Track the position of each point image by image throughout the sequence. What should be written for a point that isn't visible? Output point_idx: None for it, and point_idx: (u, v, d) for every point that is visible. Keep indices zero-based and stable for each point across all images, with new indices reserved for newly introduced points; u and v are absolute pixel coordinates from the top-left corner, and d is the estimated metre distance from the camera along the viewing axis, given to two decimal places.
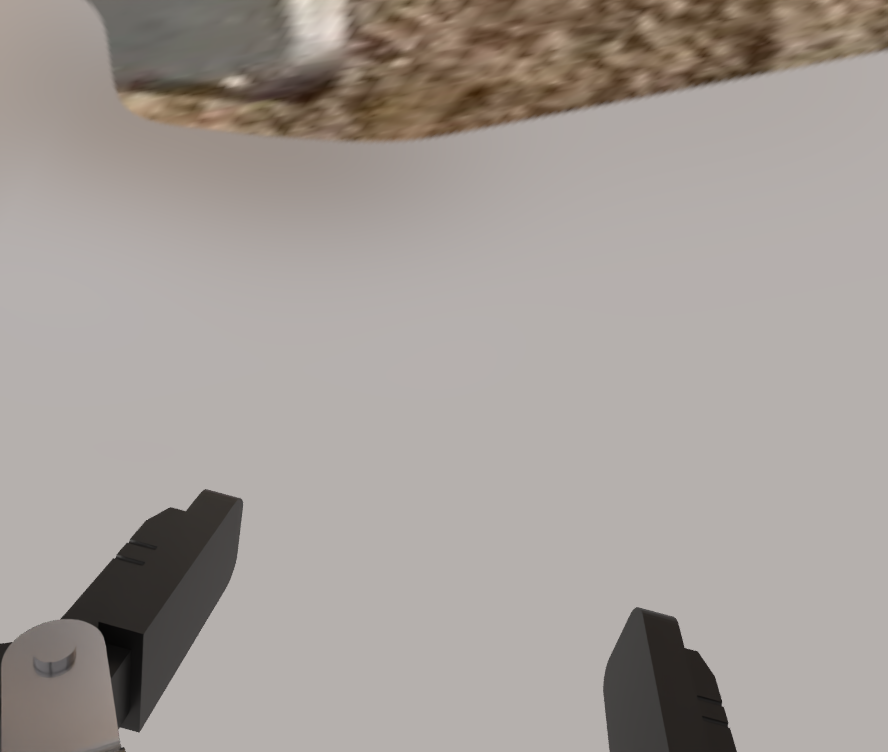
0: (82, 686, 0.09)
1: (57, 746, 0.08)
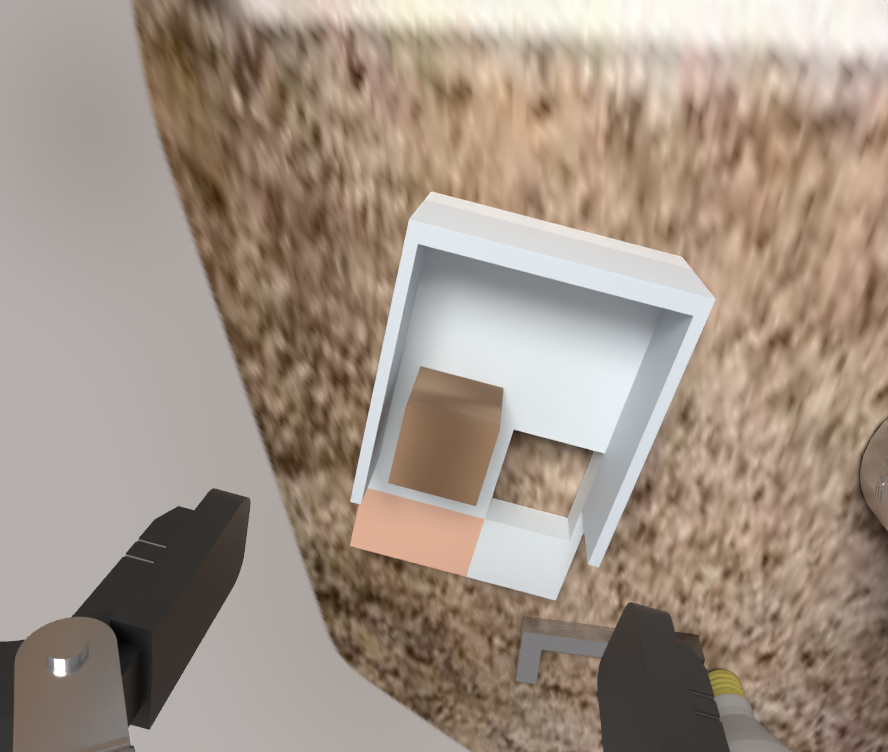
0: (93, 684, 0.09)
1: (68, 743, 0.08)
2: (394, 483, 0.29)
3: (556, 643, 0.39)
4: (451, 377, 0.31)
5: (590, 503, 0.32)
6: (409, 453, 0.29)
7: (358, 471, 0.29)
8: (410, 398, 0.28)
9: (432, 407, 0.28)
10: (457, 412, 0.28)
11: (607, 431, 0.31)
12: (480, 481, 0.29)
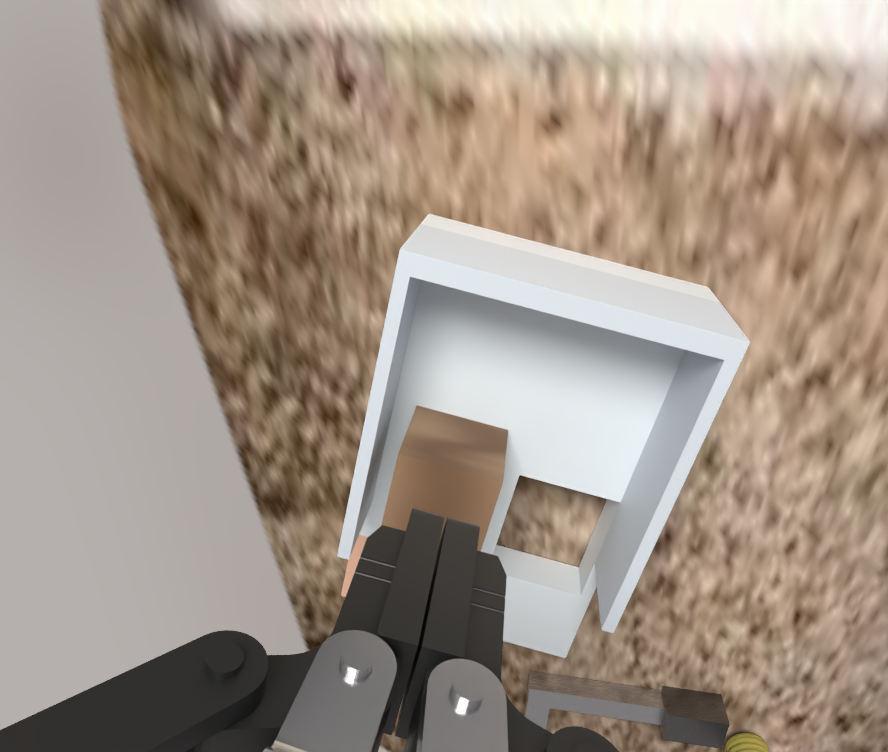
0: (361, 703, 0.09)
1: (320, 743, 0.09)
2: None
3: (565, 701, 0.35)
4: (450, 418, 0.28)
5: (604, 557, 0.29)
6: (401, 505, 0.26)
7: (345, 524, 0.26)
8: (403, 445, 0.25)
9: (427, 456, 0.25)
10: (455, 461, 0.25)
11: (623, 478, 0.28)
12: (481, 537, 0.26)
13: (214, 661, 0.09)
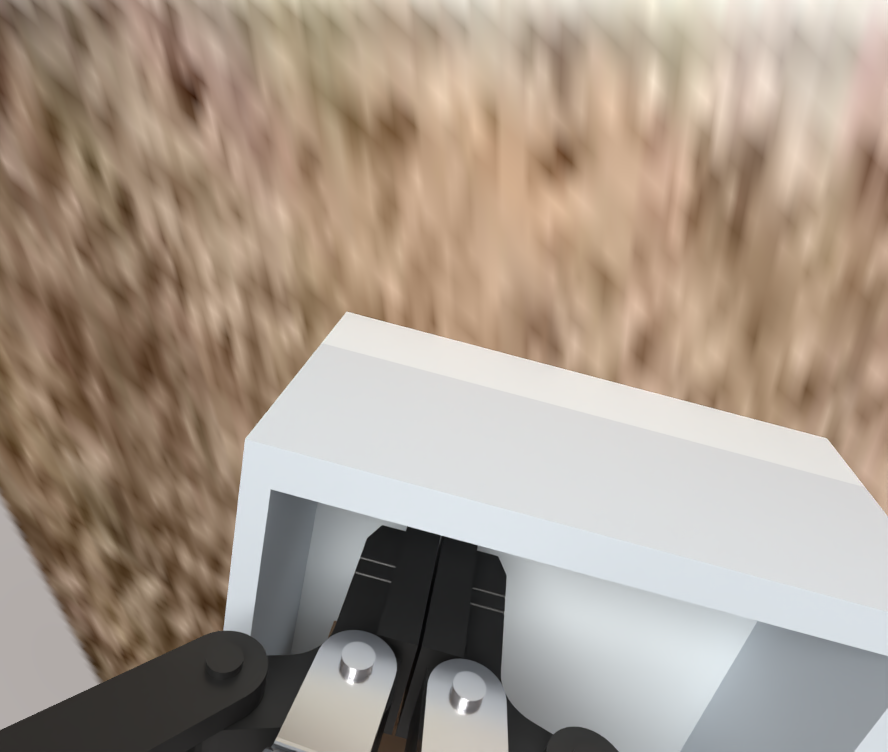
0: (361, 703, 0.09)
1: (320, 743, 0.09)
2: None
3: None
4: None
5: None
6: None
7: None
8: None
9: None
10: None
11: (675, 738, 0.17)
12: None
13: (214, 661, 0.09)
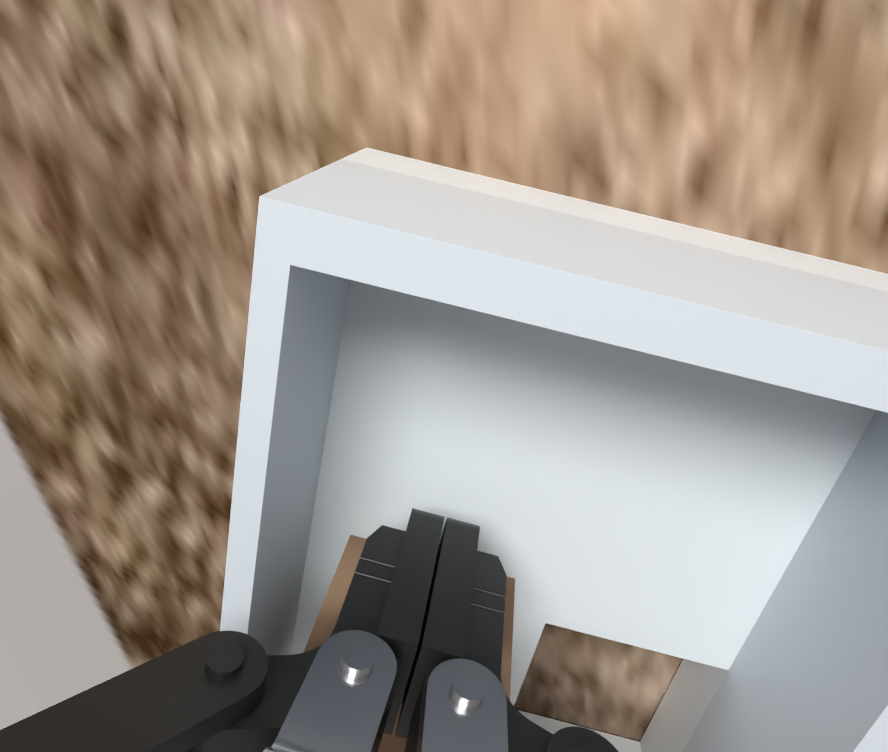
0: (361, 703, 0.09)
1: (320, 743, 0.09)
2: None
3: None
4: None
5: None
6: None
7: None
8: (310, 645, 0.13)
9: None
10: None
11: (736, 632, 0.16)
12: None
13: (214, 661, 0.09)
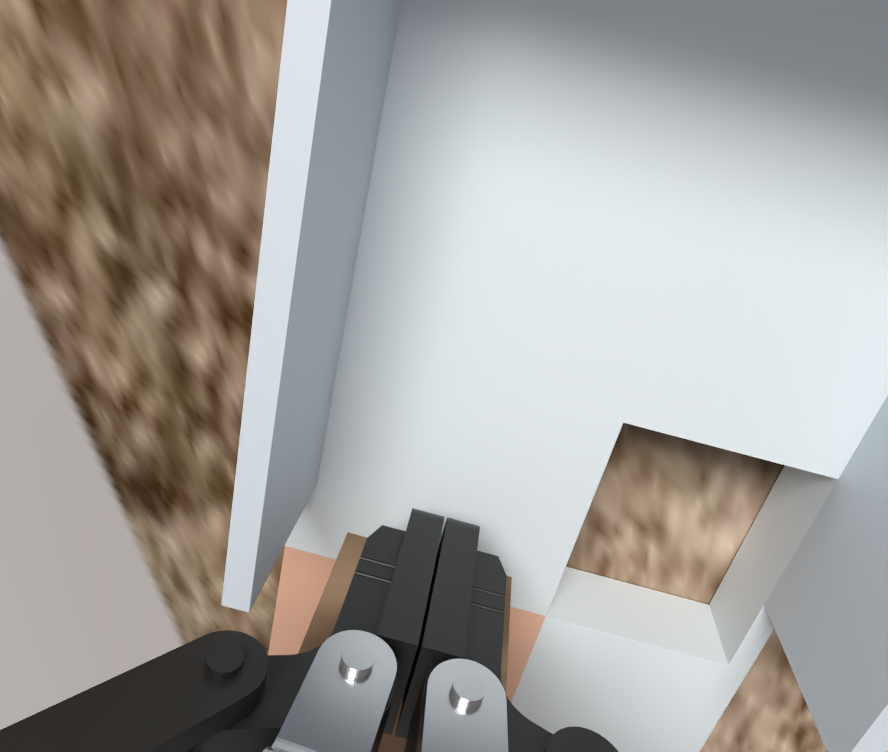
0: (362, 703, 0.09)
1: (320, 743, 0.09)
2: None
3: None
4: None
5: (801, 595, 0.14)
6: None
7: (234, 531, 0.11)
8: (306, 642, 0.13)
9: None
10: None
11: (853, 427, 0.13)
12: None
13: (214, 661, 0.09)
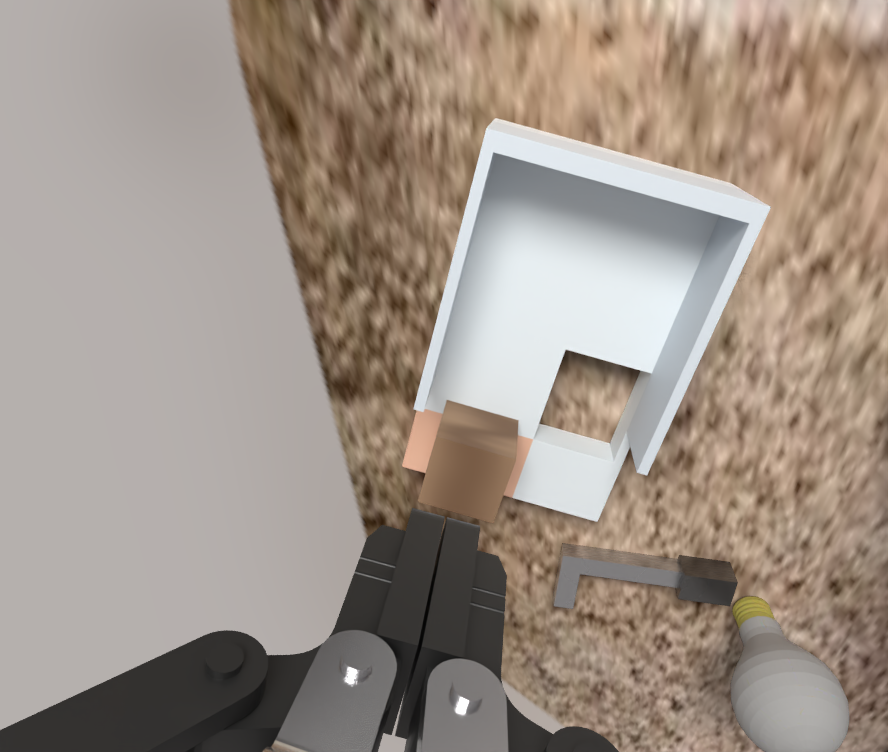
0: (361, 703, 0.09)
1: (320, 743, 0.09)
2: (423, 502, 0.34)
3: (594, 567, 0.40)
4: (473, 410, 0.36)
5: (636, 421, 0.34)
6: (437, 477, 0.33)
7: (423, 378, 0.31)
8: (439, 430, 0.33)
9: (458, 438, 0.33)
10: (479, 443, 0.33)
11: (655, 351, 0.33)
12: (497, 502, 0.33)
13: (214, 661, 0.09)
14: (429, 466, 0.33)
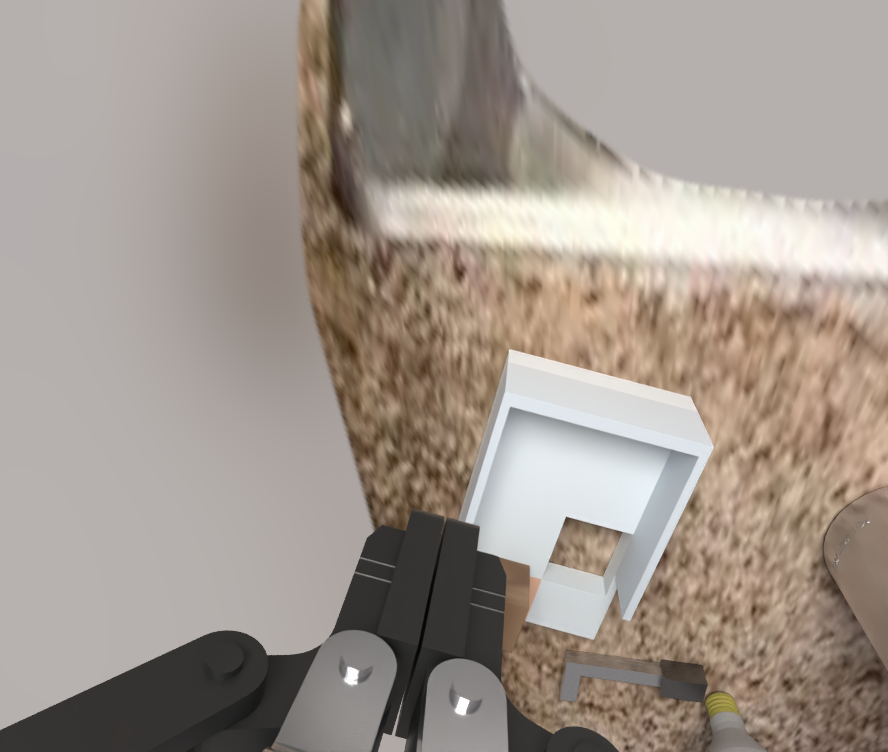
0: (361, 703, 0.09)
1: (320, 743, 0.09)
2: None
3: (592, 671, 0.50)
4: None
5: (622, 571, 0.44)
6: None
7: None
8: None
9: None
10: None
11: (635, 519, 0.43)
12: (515, 638, 0.43)
13: (214, 661, 0.09)
14: None
